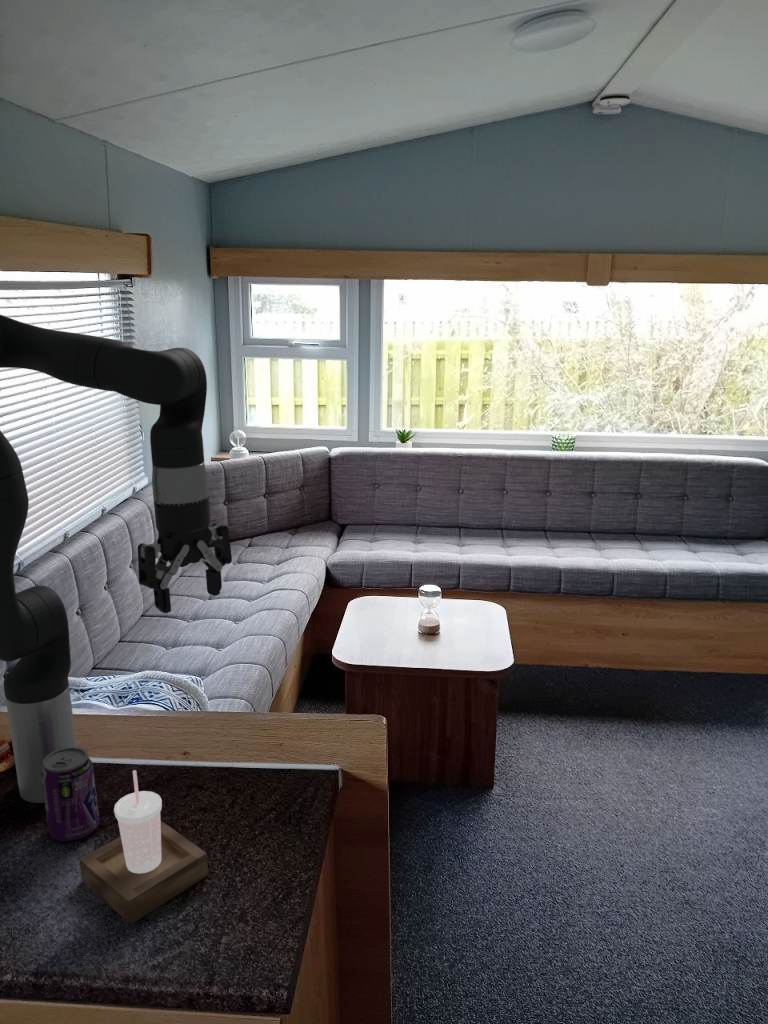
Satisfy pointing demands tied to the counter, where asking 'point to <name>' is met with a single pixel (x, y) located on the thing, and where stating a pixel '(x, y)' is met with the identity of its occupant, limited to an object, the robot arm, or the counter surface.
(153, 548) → the robot arm
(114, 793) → the counter surface
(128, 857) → the beverage cup
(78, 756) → the beverage can
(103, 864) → the base plinth
